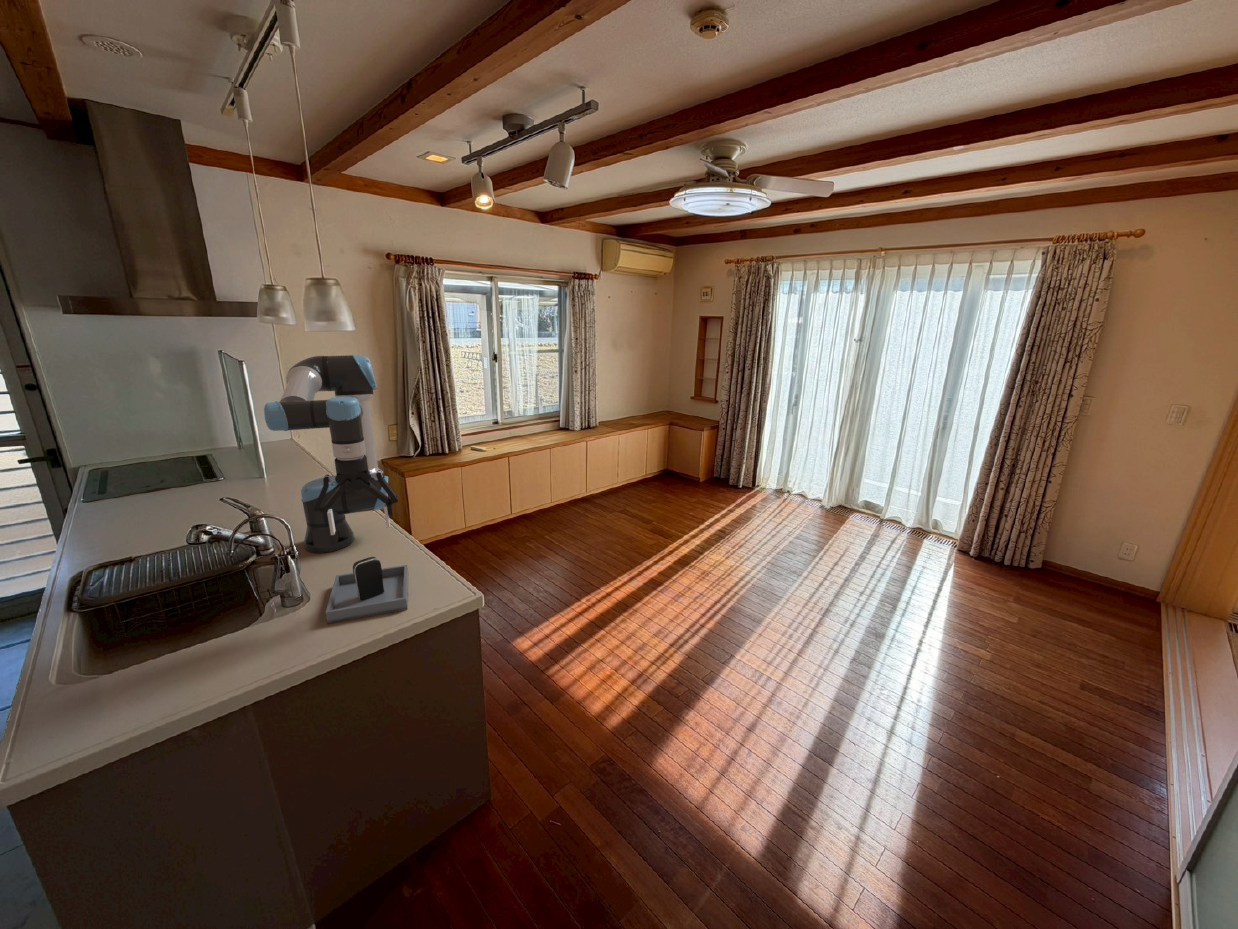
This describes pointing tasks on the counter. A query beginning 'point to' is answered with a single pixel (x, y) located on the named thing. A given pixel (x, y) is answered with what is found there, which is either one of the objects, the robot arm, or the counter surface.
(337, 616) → the tray
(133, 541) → the counter surface
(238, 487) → the counter surface
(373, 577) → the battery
